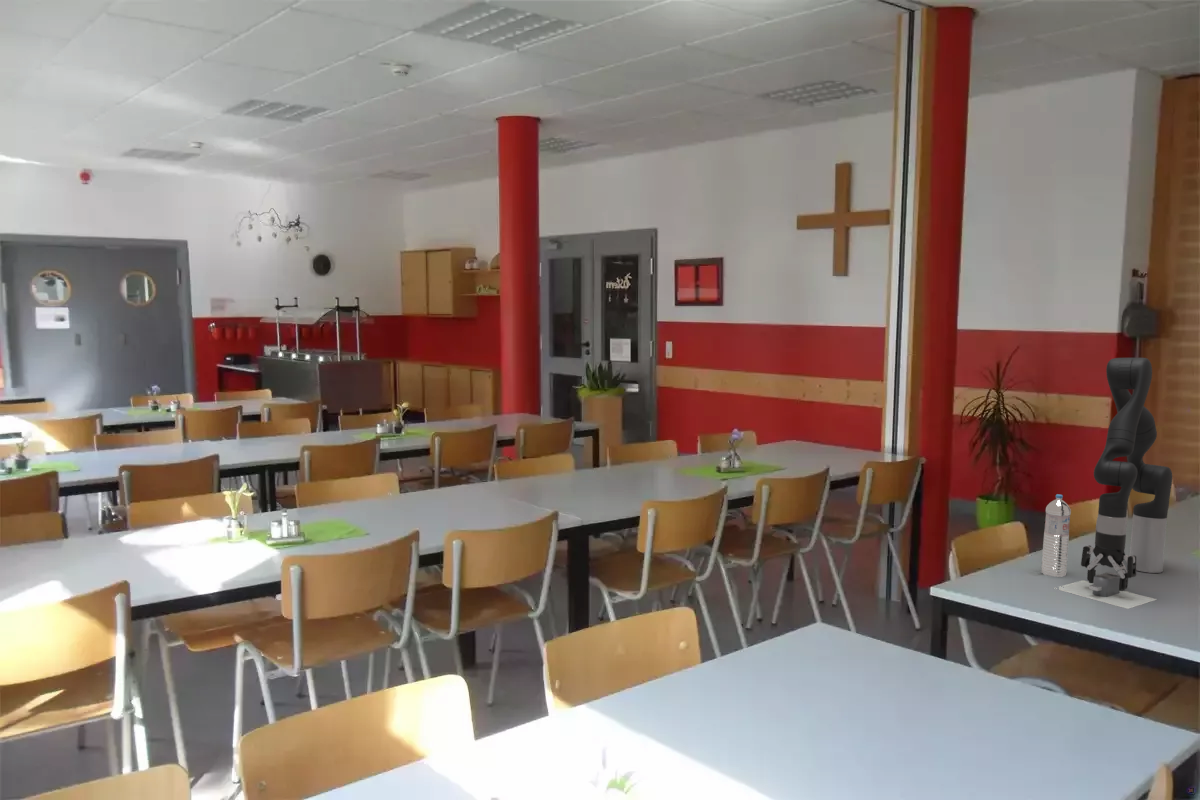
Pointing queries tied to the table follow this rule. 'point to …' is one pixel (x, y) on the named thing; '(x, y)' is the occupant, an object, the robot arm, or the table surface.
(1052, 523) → the water bottle
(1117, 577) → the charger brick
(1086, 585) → the rubber mat
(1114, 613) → the table surface
